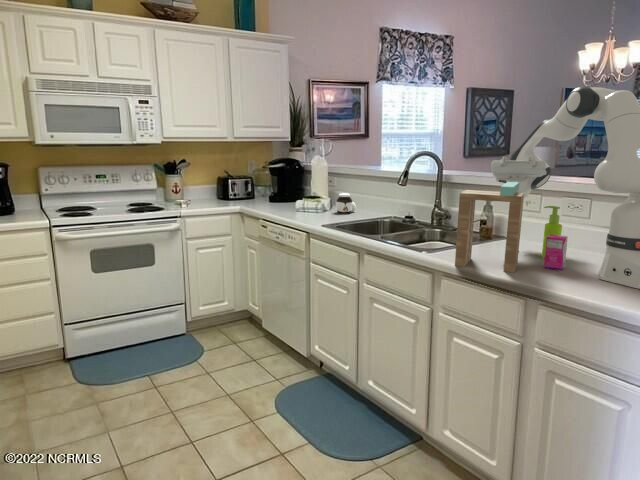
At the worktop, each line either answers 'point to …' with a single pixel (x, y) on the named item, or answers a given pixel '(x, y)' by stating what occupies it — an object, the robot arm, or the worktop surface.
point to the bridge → (467, 224)
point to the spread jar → (345, 204)
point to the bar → (509, 188)
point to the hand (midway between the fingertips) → (517, 158)
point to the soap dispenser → (551, 227)
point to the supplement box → (555, 252)
